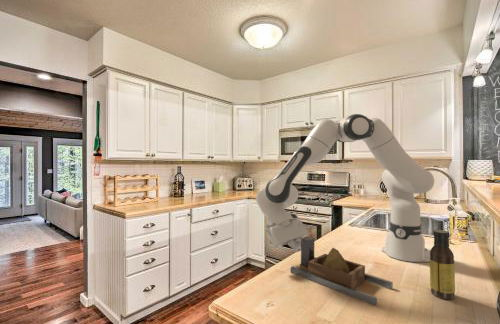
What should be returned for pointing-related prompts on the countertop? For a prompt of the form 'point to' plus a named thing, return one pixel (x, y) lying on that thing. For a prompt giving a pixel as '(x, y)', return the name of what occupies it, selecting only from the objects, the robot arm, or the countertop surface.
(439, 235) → the sauce bottle
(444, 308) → the countertop surface
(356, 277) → the sled
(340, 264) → the rock
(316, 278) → the rails
